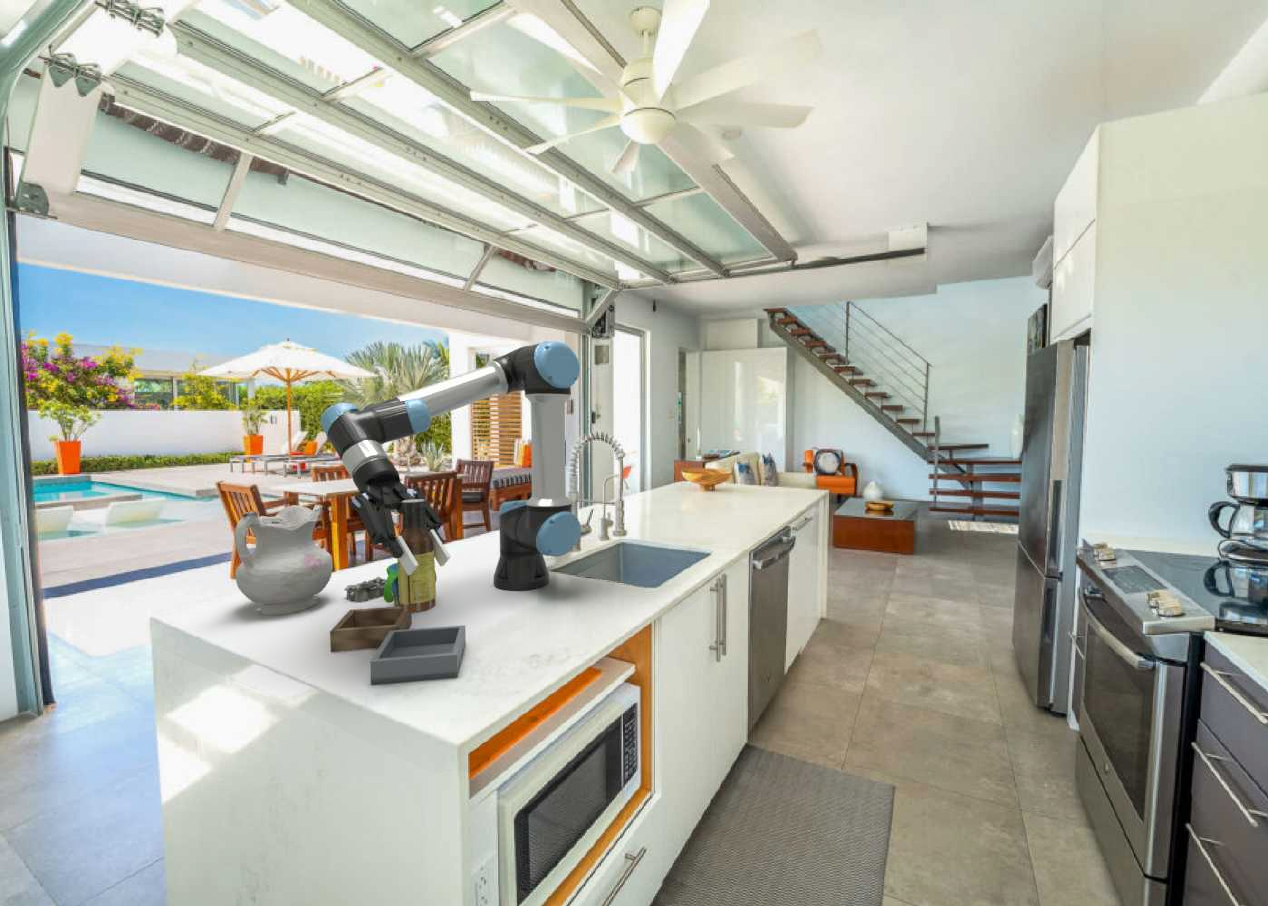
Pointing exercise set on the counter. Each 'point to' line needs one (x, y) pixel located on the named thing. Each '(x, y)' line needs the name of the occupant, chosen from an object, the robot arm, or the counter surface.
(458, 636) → the tray
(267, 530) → the ceramic pitcher
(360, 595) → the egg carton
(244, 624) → the counter surface
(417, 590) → the sauce bottle
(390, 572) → the snack cup
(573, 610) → the counter surface
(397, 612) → the square brown frame
